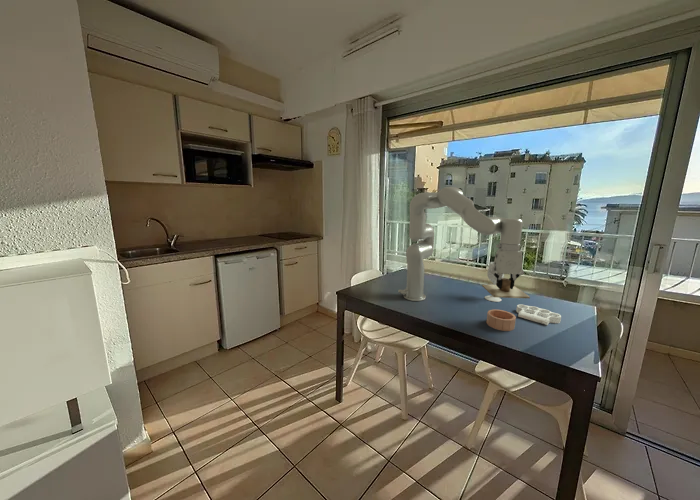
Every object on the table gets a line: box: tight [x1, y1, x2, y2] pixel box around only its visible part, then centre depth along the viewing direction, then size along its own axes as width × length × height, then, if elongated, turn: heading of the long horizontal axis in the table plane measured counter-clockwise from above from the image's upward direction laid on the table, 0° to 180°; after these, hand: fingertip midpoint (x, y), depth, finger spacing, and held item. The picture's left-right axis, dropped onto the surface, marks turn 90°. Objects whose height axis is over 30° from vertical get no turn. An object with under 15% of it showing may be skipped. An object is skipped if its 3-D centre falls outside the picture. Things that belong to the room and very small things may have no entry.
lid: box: [481, 277, 531, 299], centre depth 117 cm, size 14×14×6 cm
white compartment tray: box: [515, 303, 562, 326], centre depth 128 cm, size 3×18×15 cm
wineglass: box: [484, 261, 505, 303], centre depth 149 cm, size 9×9×21 cm
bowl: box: [486, 308, 517, 332], centre depth 121 cm, size 11×11×5 cm
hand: (504, 287), depth 117 cm, fingers closed on lid, 4 cm apart
